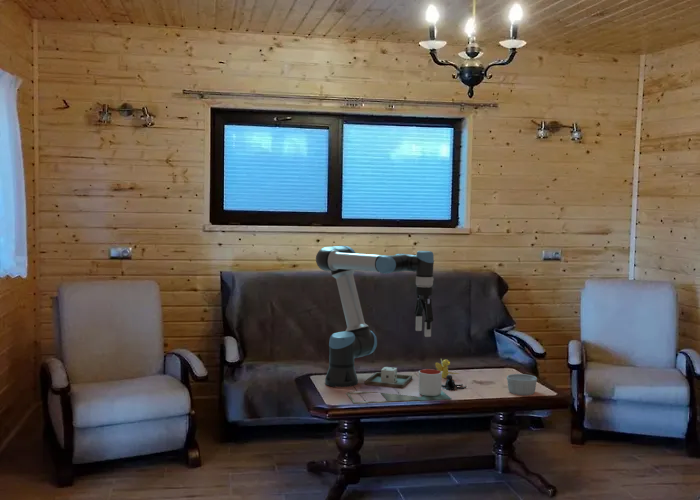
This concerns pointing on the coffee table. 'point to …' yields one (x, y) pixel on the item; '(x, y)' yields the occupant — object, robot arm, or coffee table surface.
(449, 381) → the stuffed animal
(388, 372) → the die
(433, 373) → the cup
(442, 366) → the figurine
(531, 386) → the ramekin
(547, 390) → the coffee table surface
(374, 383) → the dice tray
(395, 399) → the track
